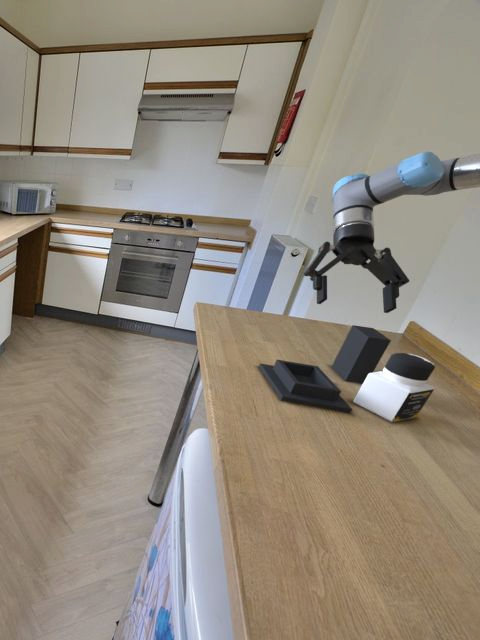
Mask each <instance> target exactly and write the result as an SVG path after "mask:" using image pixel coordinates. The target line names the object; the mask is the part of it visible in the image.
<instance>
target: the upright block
mask: <svg viewBox="0 0 480 640" xmlns="http://www.w3.org/2000/svg"><path fill="white" fill-rule="evenodd" d="M391 341H392V340H391V339H390V338H389V337H387V336H385V335H384V334H383V333H382V332H381V331H378V330H377V329H375V328H374V327H369V326H361V325H355V324H353V325H351V327H350V329H349V331H348V333H347V334H346V337H345V339H344V340H343V343H342V345H341V347H340V349H339V351H338V353H337V355H336V356H335V359H334V361H333V362H332V364H331V368H332V369H333V370H334V371H335V372H336V373H337V374H338V375H339V376H340V377H341V378H342V379H343V380H344V381H346V382H352V383H357V384H363V383H364V381H365V379H366V377H367V375H368V374H369V373H373V372H375V370H376V368H377V366H378V364H379V362H380V361H381V359H382V357H383V355H384V354H385V352H386V350H387V349H388V347H389V345H390V344H391Z"/></svg>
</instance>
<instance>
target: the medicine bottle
mask: <svg viewBox="0 0 480 640" xmlns="http://www.w3.org/2000/svg"><path fill="white" fill-rule="evenodd" d="M435 369H436V366H435V364H434V363H433V362H432V361H430V360H429V359H427V358H425V357H422V356H420V355H416V354H413V353H408V352H395V353H392V354H391V355H390V357H389V358H388V360H387V362H386V363H385V366H384V367H383V368H382V370H381V371H374V372H373V373H369V374H368V375H367V377H366V379H365V381H364V383H361V386H360V388H359V389H358V392H357V394H356V395H355V397H354V399H353V403H354V404H356V405H357V406H359V407H362V408H364V409H365V410H368V411H369V412H372V413H374V414H375V415H377V416H379V417H381V418H383V419H385V420H387V421H388V422H391V423H393V422H400V421H404V420H409V419H410V420H411V419H415V418H417V416H418V415H419V414H420V412H421V410H422V409H423V408H424V406H425V405H426V403H427V401H428V400H429V398H430V397H431V395H432V394H433V392H434V391H435V386H432V385H431V384H428V383H427V381H428V380H429V378H430V376H431V375H432V373H433V372H434V371H435Z"/></svg>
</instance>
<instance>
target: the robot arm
mask: <svg viewBox="0 0 480 640" xmlns="http://www.w3.org/2000/svg"><path fill="white" fill-rule="evenodd" d="M476 188H480V153H476V154H470V155H466V156H461V157H456V158H455V157H454V158H449V159H444V160H441V159H440V157H439V156H438V155H437V154H435V153H434V152H432V151H427V150H426V151H423V152H420V153H418V154H415V155H412V156H409V157H406V158H405V159H403V160H402V161H399V162H397V163H395V164H393V165H391V166H389V167H386V168H384V169H382V170H380V171H377V172H376V173H374V174H371V175H368V174H366V173H354V174H353V175H350V174H349V175H346V176H344V177H342V178H341V179H339V180H338V181H336V183H335V184H334V186H333V190H332V196H331V201H332V214H333V215H332V232H333V234H332V237H333V238H332V239H333V241H332V242H333V243H332V244H331V242H330V241H324V242H323V243H322V245H321V246H319V247H318V251H317V255H316V256H315V257H314V258H313V259H312V261H311V262H310V264H309V265H308V267H307V268H306V269H305V271H304V272H303V276H304V277H309V279H310V281H311V282H312V289H313V291H316V304H317V305H322V304H323V303H324V302H326V301H327V300H328V275H327V274H326V273H327V272H328V271H329V270H331V269H333V267H335V266H336V265H338V264H339V263H340V262H341V263H343V264H344V265H353V266H360V267H362V268H363V269H367V270H368V272H370V274H372V275H373V276H374V277H375V278H376V279H377V280H378V281H379V282H380V283H381V284H382V285H384V287H382V303H383V313H384V314H389V313H391V312H392V311H394V310H396V309H397V299H398V298H399V297H400V288H401V287H403V286H404V285H406V284H408V283H409V282H410V279H409V277H408V276H407V274H406V273H405V272H404V271H403V268H401V266H400V265H399V264H398V262H397V261H396V259H395V258H394V256H393V254H392V251H391V248H390V247H384V248H383V249H376V247H375V246H374V244H375V228H374V227H375V220H374V219H375V218H374V207H376V206H378V205H381V204H384V203H387V202H389V201H392V200H394V199H397V198H399V197H402V196H425V197H426V196H436V195H441V194H443V193H448V192H449V193H450V192H455V191H461V190H468V189H476ZM330 252H332V253H333V254H334V256H335V258H334V259H332V260H331V261H329V262H328V263H327V264H325V265H324V266H323V267H322V268H320V269H319V270H317V268H318V266H319V265H320V264H321V263H322V261H323V260H324V259H325V257H326V256H327V254H329V253H330ZM368 261H369V262H368ZM324 274H325V275H324Z"/></svg>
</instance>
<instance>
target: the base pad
mask: <svg viewBox="0 0 480 640" xmlns="http://www.w3.org/2000/svg"><path fill="white" fill-rule="evenodd" d="M258 368H259V370H260V371H261V373H262V374H263V375H264V377H265V379H266V380H267V382H268V383H269V385H270V386H271V388H272V389H273V391H274V392H275V394H276V396H277V397H278V398H279V400H280V401H282V402H287V403H293V404H297V405H304V406H309V407H313V408H314V407H315V408H321V409H325V410H331V411H336V412H342V413H347V414H351V413H352V411H353V408H352V407H351V406H350V405H349V404H348V403H347V401H346V400H345V399H344V398H342V396H341V392H342V391H341V389H340V388H339V387H338V386H337V385H336V384H335V383H334V382H333V381H332V380H331V379H330V377H329V376H327V374H325V372H324V371H323V370H322V369H321V368H320V367H319V366H318V365H312V364H308V363H307V364H306V363H301V362H295V361H289V360H282V359H275V363H274V365H272V364H267V363H259V365H258Z"/></svg>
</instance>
